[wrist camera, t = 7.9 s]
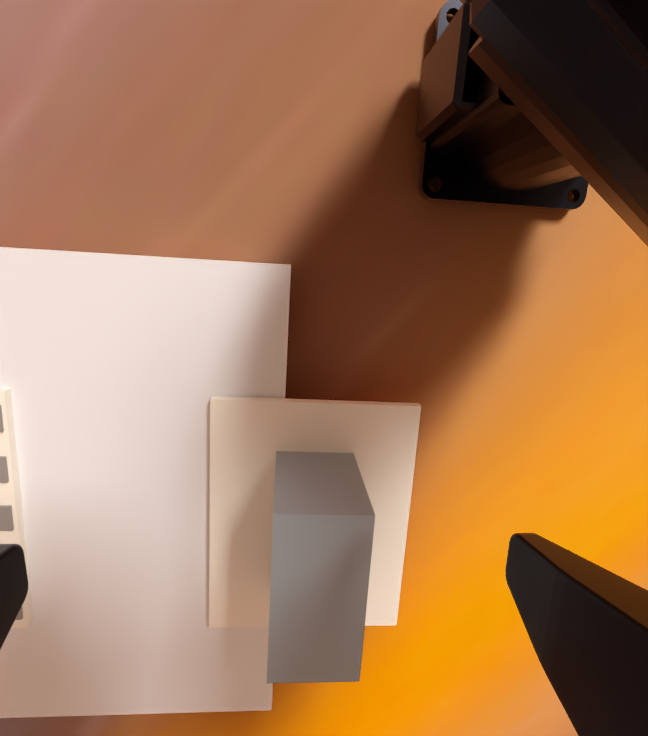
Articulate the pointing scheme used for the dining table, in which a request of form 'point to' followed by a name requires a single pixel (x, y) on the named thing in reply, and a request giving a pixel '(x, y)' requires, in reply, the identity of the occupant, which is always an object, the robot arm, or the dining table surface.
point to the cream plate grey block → (309, 525)
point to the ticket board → (125, 475)
